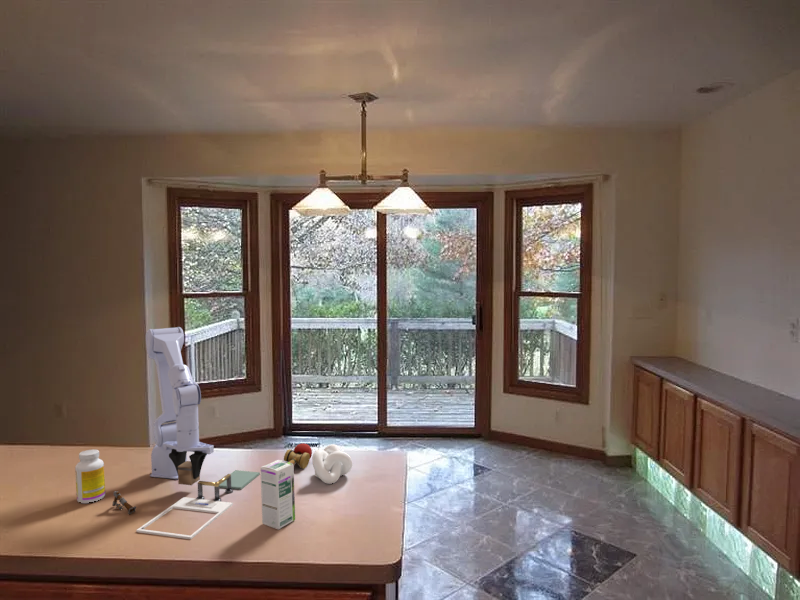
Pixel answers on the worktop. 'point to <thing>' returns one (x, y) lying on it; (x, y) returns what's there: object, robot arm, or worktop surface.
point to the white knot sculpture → (331, 463)
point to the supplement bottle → (90, 477)
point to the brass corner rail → (215, 487)
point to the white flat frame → (194, 506)
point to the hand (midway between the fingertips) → (189, 476)
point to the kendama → (299, 455)
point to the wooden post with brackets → (123, 502)
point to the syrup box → (277, 494)
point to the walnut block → (186, 474)
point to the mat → (240, 479)
